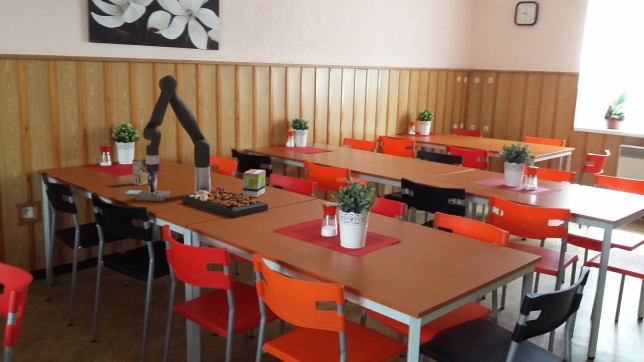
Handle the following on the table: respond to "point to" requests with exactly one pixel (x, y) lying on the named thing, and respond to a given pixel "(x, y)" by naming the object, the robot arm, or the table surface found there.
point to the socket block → (153, 195)
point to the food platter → (224, 202)
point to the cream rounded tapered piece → (154, 187)
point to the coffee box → (140, 172)
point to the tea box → (254, 183)
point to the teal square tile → (133, 192)
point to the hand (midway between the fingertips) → (153, 191)
